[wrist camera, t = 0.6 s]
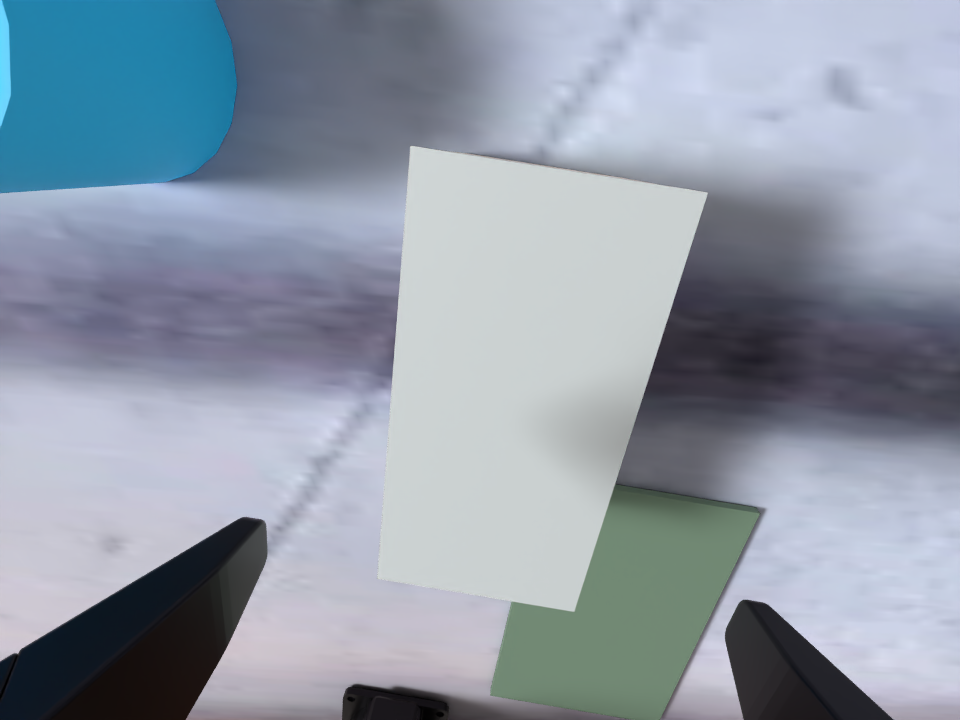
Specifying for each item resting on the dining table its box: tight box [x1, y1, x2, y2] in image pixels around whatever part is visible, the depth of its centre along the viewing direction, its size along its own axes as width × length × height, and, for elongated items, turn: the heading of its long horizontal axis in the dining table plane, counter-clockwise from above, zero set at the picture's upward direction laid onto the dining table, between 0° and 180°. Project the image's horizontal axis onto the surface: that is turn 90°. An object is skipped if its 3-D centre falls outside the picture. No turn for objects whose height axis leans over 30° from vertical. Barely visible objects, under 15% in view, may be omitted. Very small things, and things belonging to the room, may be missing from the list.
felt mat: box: [490, 484, 760, 720], centre depth 25 cm, size 16×10×1 cm, turn 172°
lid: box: [377, 146, 708, 612], centre depth 15 cm, size 14×7×2 cm, turn 172°
